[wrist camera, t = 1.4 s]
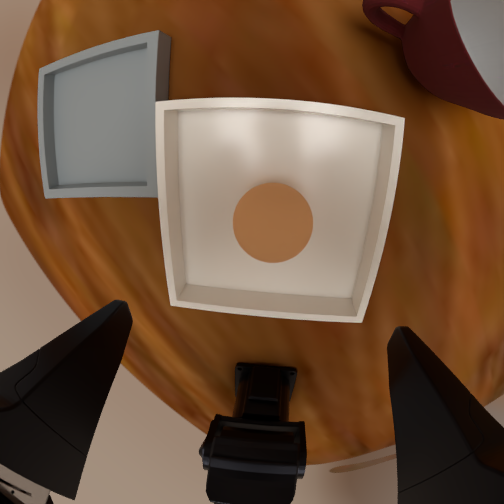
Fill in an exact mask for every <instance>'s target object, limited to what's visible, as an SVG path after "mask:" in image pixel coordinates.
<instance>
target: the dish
mask: <svg viewBox="0 0 504 504" xmlns="http://www.w3.org/2000/svg"><path fill="white" fill-rule="evenodd" d="M404 121H405V118H402V117H398V116H393V115H389V114H384V113H380V112H375V111H370V110H364V109H359V108H353V107H347V106H340V105H333V104H326V103H318V102H309V101H298V100H286V99H269V98H198V99H182V100H169V101H159V102H156V103H155V132H156V167H157V186H158V201H159V214H160V225H161V235H162V245H163V254H164V262H165V270H166V277H167V284H168V291H169V298H170V304H171V306H178V307H185V308H193V309H200V310H208V311H216V312H224V313H233V314H243V315H252V316H263V317H274V318H286V319H299V320H314V321H332V322H355V323H362V320H363V317H364V314H365V311H366V308H367V305H368V302H369V299H370V296H371V292H372V289H373V285H374V282H375V279H376V275H377V271H378V268H379V264H380V260H381V256H382V252H383V248H384V244H385V240H386V236H387V231H388V227H389V222H390V217H391V212H392V207H393V202H394V197H395V191H396V185H397V179H398V173H399V166H400V158H401V150H402V142H403V132H404ZM265 183H281V184H285V185H288V186H290V187H292V188H294V189H295V190H297V191H298V192H299V193H300V194H301V195H302V196H303V197H304V198H305V199H306V201H307V202H308V204H309V206H310V209H311V211H312V216H313V230H312V234H311V237H310V240H309V242H308V244H307V245H306V246H305V248H304V249H303V250H302V251H301V252H300V253H299V254H298V255H296V256H295V257H293V258H291V259H289V260H287V261H284V262H279V263H267V262H262V261H259V260H257V259H255V258H253V257H251V256H250V255H248V254H247V253H246V252H245V251H244V250H243V249H242V248H241V246H240V245H239V243H238V242H237V240H236V237H235V234H234V230H233V215H234V211H235V208H236V205H237V204H238V202H239V200H240V199H241V198H242V196H243V195H244V194H245V193H246V192H248V191H249V190H250V189H252V188H254V187H255V186H258V185H261V184H265Z"/></svg>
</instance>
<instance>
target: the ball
mask: <svg viewBox="0 0 504 504" xmlns="http://www.w3.org/2000/svg"><path fill="white" fill-rule="evenodd" d="M233 230H234V234H235V237H236V240H237V242H238V243H239V245H240V246H241V248H242V249H243V250H244V251H245V252H246V253H247V254H248V255H250V256H251V257H253V258H255V259H257V260H259V261H262V262H267V263H279V262H284V261H287V260H289V259H291V258H293V257H295V256H296V255H298V254H299V253H300V252H301V251H302V250H303V249H304V248H305V246H306V245H307V244H308V242H309V240H310V237H311V234H312V230H313V216H312V211H311V209H310V206H309V204H308V202H307V201H306V199H305V198H304V197H303V196H302V195H301V194H300V193H299V192H298V191H297V190H295V189H294V188H292V187H290V186H288V185H285V184H281V183H265V184H261V185H258V186H255V187H254V188H252V189H250V190H249V191H248V192H246V193H245V194H244V195H243V196H242V198H241V199H240V200H239V202H238V204H237V205H236V208H235V211H234V215H233Z"/></svg>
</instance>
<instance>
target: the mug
mask: <svg viewBox="0 0 504 504" xmlns="http://www.w3.org/2000/svg"><path fill="white" fill-rule="evenodd" d="M362 6H363V11H364V14H365V15H366V17H367V18H368V19H369V20H370V21H371V22H372V23H373V24H374V25H376V26H377V27H379V28H380V29H382V30H384V31H386V32H388V33H390V34H392V35H394V36H396V37H398V38H400V39H401V40H402V45H403V52H404V56H405V60H406V63H407V66H408V68H409V70H410V71H411V73H412V74H413V76H414V77H415V78H416V79H417V81H418V82H419V83H420V84H421V85H422V86H423V87H424V88H426V89H427V90H428V91H429V92H431V93H432V94H434V95H435V96H437V97H439V98H441V99H443V100H445V101H448V102H451V103H454V104H457V105H460V106H463V107H466V108H468V109H471V110H474V111H477V112H479V113H482V114H485V115H488V116H491V117H494V118H499V119H504V0H363V4H362ZM384 6H389V7H396V8H400V9H403V10H406V11H408V12H410V13H412V14H414V15H413V16H412V18H411V19H410V20H409V22H408V23H407V24H406V25H404V24H402V23H400V22H399V21H397V20H396V19H394V18H393V17H391V16H390V15H388V14H387V13H386V12H385V11H383V10H382V9H381V8H380V7H384Z"/></svg>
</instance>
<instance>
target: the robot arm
mask: <svg viewBox="0 0 504 504" xmlns="http://www.w3.org/2000/svg"><path fill="white" fill-rule="evenodd" d="M132 323H133V320H132V316H131V313H130V310H129V307H128V304H127V302H125V301H121V300H114V301H112V302H111V303H109V304H108V305H106V306H104V307H103V308H101V309H100V310H98V311H97V312H95V313H93V314H92V315H90V316H89V317H87V318H86V319H84V320H82V321H81V322H79V323H78V324H76V325H75V326H73V327H72V328H70V329H69V330H67V331H66V332H64V333H63V334H61V335H59V336H58V337H56V338H55V339H53V340H52V341H50V342H49V343H47V344H46V345H44V346H43V347H41V348H40V349H38V350H37V351H35V352H34V353H32V354H31V355H29V356H27V357H26V358H24V359H23V360H21V361H20V362H18V363H16V364H14V365H13V366H11V367H10V368H7V369H6V370H4V371H2V372H0V504H53V501H52V499H51V496H50V495H49V493H50V491H53V492H55V493H57V494H60V495H62V496H65V497H67V498H70V499H72V500H75V497H76V494H77V490H78V486H79V483H80V479H81V475H82V472H83V468H84V465H85V461H86V458H87V454H88V451H89V448H90V445H91V442H92V439H93V436H94V433H95V430H96V427H97V424H98V421H99V418H100V415H101V412H102V409H103V407H104V404H105V401H106V399H107V396H108V393H109V391H110V388H111V386H112V383H113V380H114V378H115V375H116V373H117V370H118V368H119V365H120V363H121V360H122V357H123V354H124V350H125V347H126V343H127V340H128V337H129V333H130V330H131V327H132ZM387 354H388V370H389V389H390V397H391V404H392V412H393V421H394V431H395V442H396V456H397V477H398V492H399V493H398V504H504V428H503V427H502V426H501V425H500V424H499V423H498V422H497V421H496V420H495V419H494V418H493V417H492V416H491V415H490V414H489V413H488V411H486V409H485V408H484V407H483V406H482V405H481V404H480V403H479V402H478V401H477V399H476V398H475V397H474V396H473V395H472V394H470V392H469V390H468V389H467V388H466V387H465V386H464V385H463V384H462V383H461V382H460V380H459V379H458V378H457V377H456V376H455V375H454V374H453V373H452V372H451V371H450V369H449V368H448V367H447V366H446V365H445V364H444V363H443V362H442V361H441V360H440V359H439V358H438V357H437V356H436V355H435V353H434V352H433V351H432V350H431V349H430V348H429V347H428V346H427V345H426V344H425V343H424V342H423V341H422V340H421V339H420V338H419V337H418V336H417V335H416V334H415V333H414V332H413V331H412V330H411V329H410V328H409V327H407V326H398V327H396V329H395V330H394V332H393V334H392V336H391V338H390V340H389V342H388V346H387ZM296 376H297V370H296V369H295V368H285V367H272V366H261V365H251V364H242V363H238V364H236V367H235V396H236V401H235V406H234V411H233V416H232V417H228V416H222V415H220V414H216V416H215V418H214V420H212V421H211V424H210V428H209V431H208V434H207V437H206V439H205V440H204V442H203V444H202V445H201V447H200V449H199V454H200V456H201V457H202V461H203V469H204V470H208V475H207V483H206V493H207V496H208V498H209V500H210V502H214V504H290V503H291V502H292V501H293V497H294V495H295V490H296V482H297V479H302V478H303V476H304V473H305V467H306V458H307V449H306V435H305V423H304V421H299V422H289V402H290V399H291V395H292V391H293V388H294V384H295V380H296Z"/></svg>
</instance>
